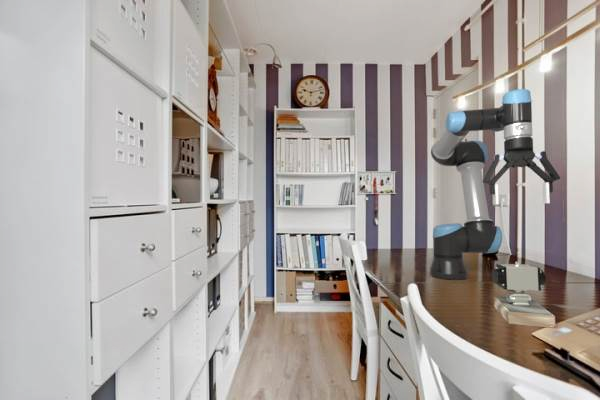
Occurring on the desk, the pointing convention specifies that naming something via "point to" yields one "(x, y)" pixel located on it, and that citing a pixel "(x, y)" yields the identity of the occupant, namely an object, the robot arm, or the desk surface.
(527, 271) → the pneumatic valve
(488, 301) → the desk surface
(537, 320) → the book
